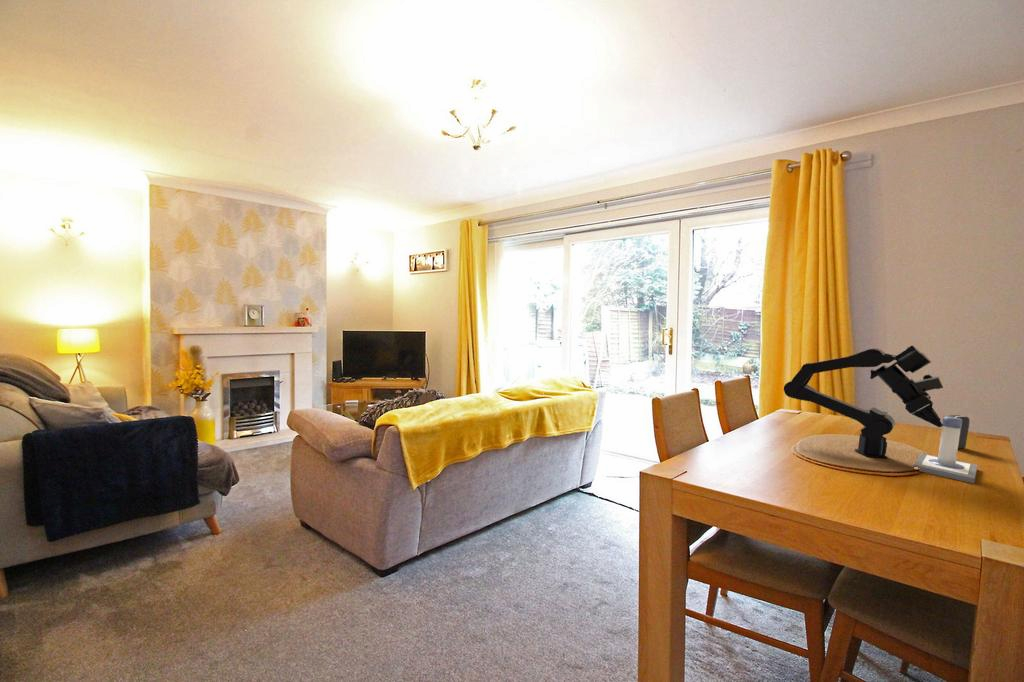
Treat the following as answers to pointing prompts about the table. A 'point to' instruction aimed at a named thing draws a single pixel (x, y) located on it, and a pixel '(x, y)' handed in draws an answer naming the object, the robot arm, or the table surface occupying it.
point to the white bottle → (949, 440)
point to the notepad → (947, 468)
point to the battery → (963, 430)
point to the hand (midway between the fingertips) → (940, 423)
